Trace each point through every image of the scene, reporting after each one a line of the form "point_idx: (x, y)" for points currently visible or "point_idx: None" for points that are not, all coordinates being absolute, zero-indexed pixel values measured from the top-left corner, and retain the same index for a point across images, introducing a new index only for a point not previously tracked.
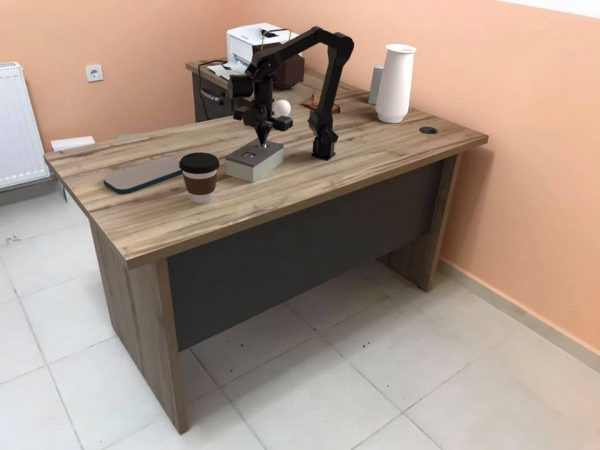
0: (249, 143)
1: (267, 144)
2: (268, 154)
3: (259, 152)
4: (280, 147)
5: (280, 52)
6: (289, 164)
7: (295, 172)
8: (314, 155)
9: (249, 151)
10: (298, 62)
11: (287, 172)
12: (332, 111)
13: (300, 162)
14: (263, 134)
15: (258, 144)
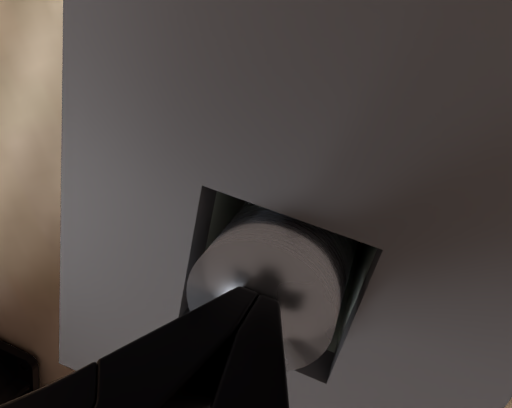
0: (503, 357)
1: None
2: (68, 12)
3: (226, 38)
4: (67, 303)
5: None
6: None
7: (4, 84)
8: (10, 357)
9: (428, 9)
10: None
11: (53, 61)
12: None
13: (53, 264)
14: (74, 404)
15: (311, 290)
